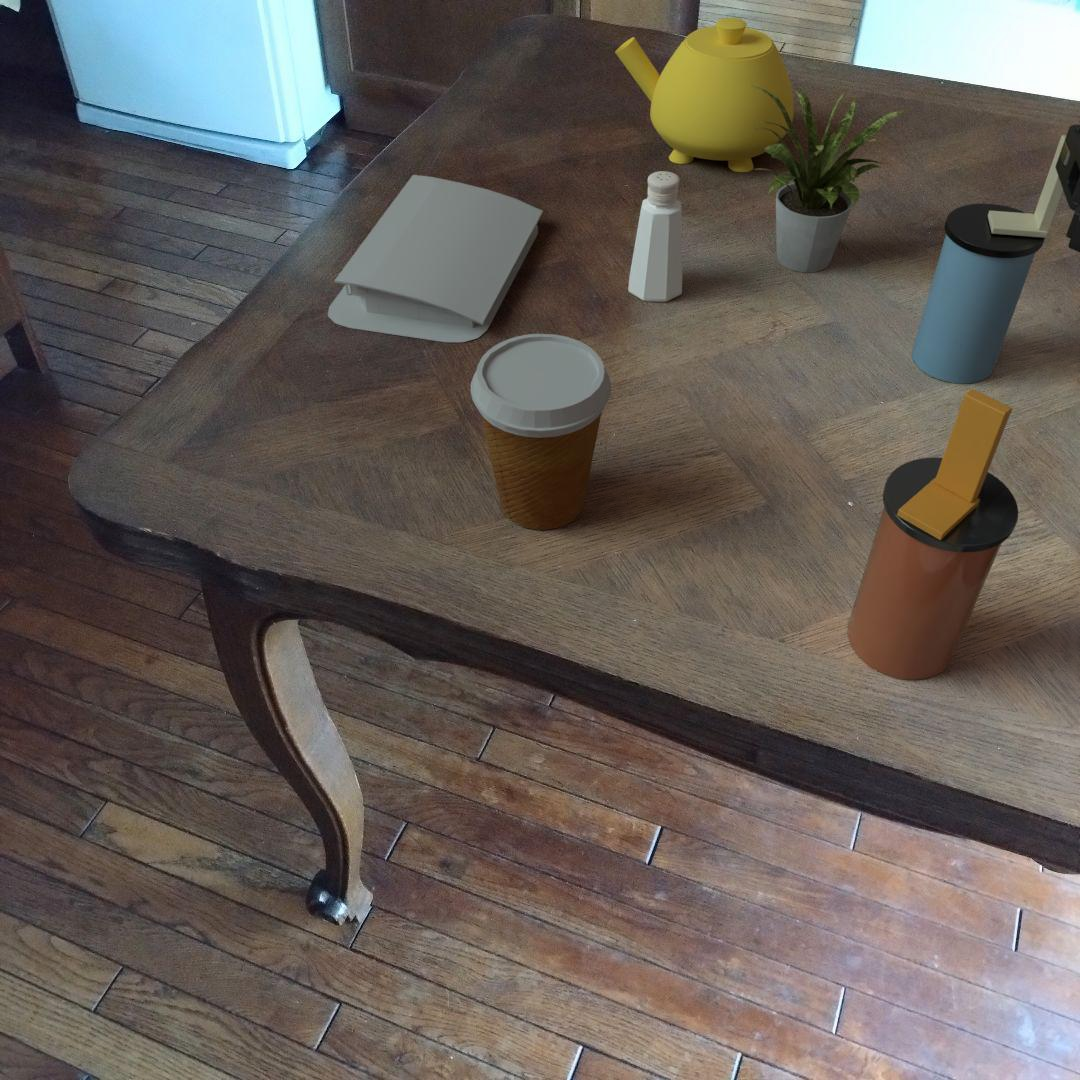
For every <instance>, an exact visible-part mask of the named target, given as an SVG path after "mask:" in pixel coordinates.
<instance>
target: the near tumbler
mask: <svg viewBox="0 0 1080 1080" xmlns="http://www.w3.org/2000/svg"><path fill="white" fill-rule="evenodd" d="M942 459H943V457H936V456H935V457H934V456H933V457H922V458H917V459H913V460H910V461H907V462H905V463H903V464H901V465H899V466H898V467H897V468H895V469H894V470H893V471H892V472H891V473H890V474H889V476H888V477H887V479H886V482H885V484H884V487H883V491H882V502H883V509H882V512H881V515H880V518H879V522H878V525H877V528H876V531H875V535H874V538H873V541H872V544H871V548H870V551H869V554H868V557H867V560H866V564H865V567H864V571H863V574H862V578H861V581H860V584H859V587H858V591H857V594H856V596H855V597H856V598H855V600H854V602H853V606H852V610H851V613H850V616H849V620H848V624H847V638H848V641H849V644H850V646H851V647H852V650H853V651H854V653H855V654H856V655H857V656H858V658H859V659H860V660H861V661H863V662H864V664H866V665H867V666H869V667H870V668H871V669H873V670H875V671H877V672H879V673H880V674H883V675H886V676H888V677H892V678H896V679H898V680H899V679H901V680H909V681H914V680H915V681H916V680H918V681H919V680H925V679H928V678H931V677H934V676H937V675H938V674H940V673H941V672H943V671H944V670H946V669H947V667H948V666H949V664H950V663H951V662H952V659H953V658H954V655H955V652H956V650H957V648H958V646H959V643H960V641H961V639H962V637H963V635H964V632H965V630H966V628H967V625H968V623H969V620H970V618H971V616H972V613H973V611H974V609H975V606H976V604H977V602H978V599H979V597H980V594H981V592H982V590H983V589H984V588H983V587H984V586H985V583H986V581H987V578H988V577H989V574H990V571H991V569H992V567H993V564H994V563H995V560H996V558H997V555H998V553H999V551H1000V548H1001V546H1002V544H1003V543H1004V542H1005V541H1006V540H1007V539H1009V537H1010V536H1011V535H1012V534H1013V532H1014V530H1015V528H1016V525H1017V523H1018V520H1019V507H1018V503H1017V500H1016V498H1015V496H1014V494H1013V493H1012V491H1011V490H1010V489H1009V488H1008V486H1007V485H1006V484H1005V483H1004V482H1003V481H1002V480H1001V479H999V478H998V477H997V476H995V475H994V474H992V472H990V471H988V472H987V475H986V477H985V480H984V483H983V485H982V488H981V490H980V493H979V495H978V497H977V498H978V499H980V502H979V504H978V506H977V507H976V508H975V509H974V510H973V511H972V512H970V513H969V514H968V515H967V516H966V517H965V518H964V519H963V520H962V521H961V522H960V523H959V524H958V525H956V526H955V527H954V528H953V529H952V530H951V531H950V532H949V533H948V534H947V535H946V536H945V537H944V538H942V539H941V540H939V539H937V538H936V537H934V536H932V535H930V534H929V533H927V532H925V531H923V530H922V529H920V528H918V527H916V526H915V525H913V524H911V523H909V522H908V521H906V520H904V519H902V518H901V517H899V516H897V514H898V511H899V509H900V508H901V507H902V506H903V505H905V504H906V503H907V502H908V501H909V500H910V499H911V498H913V497H914V496H915V495H916V494H917V493H918V492H919V491H921V490H922V489H923V488H924V487H925V486H926V485H928V484H929V483H930V482H931V481H932V480H933V479H934V478H936V476H937V473H938V470H939V467H940V465H941V462H942Z"/></svg>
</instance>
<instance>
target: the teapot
mask: <svg viewBox="0 0 1080 1080" xmlns="http://www.w3.org/2000/svg"><path fill="white" fill-rule="evenodd" d="M747 24H748V23H747V21H745V20H743V19H740V18H738V17H724V18H720V19H718V20H716V22H715V25H712V26H705V27H701V28H698V29H696V30H694V31H692V32H691V33H689V34H688V35H687V36H686V37H685V38H684V39H683V41H682V42H681V43H680V44H679V45H678V47H677V49H676V50H675V51H674V52H673V54H672V55H671V56H670V58H669V60H668V61H667V62H666V64H665V66H664V68H663V70H662V71H661V73H659V72H658V70H657V69H656V67H655V66H654V65H653V63H652V61H651V60H650V58H649V57H648V56H647V54H646V53H645V51H644V49H643V48H642V46H641V45H640V44H639V42H638V41H637V39H636V38H635V37H634V36H633V37H630V38H629V39H628V40H626V41H625V42H623V43H622V44H621V45H620V46H618V48H617V49H616V50H615V52H614V54H615V55H616V56H617V58H619V60H620V61H621V63H622V64H623V66H624V67H625V68H626V70H627V71H628V73H629V74H630V76H631V77H632V78H633V79H634V81H635V82H636V84H637V85H638V86H639V88H640V89H641V90H642V92H643V93H644V94H645V96H646V97H647V99H648V100H649V101H650V112H649V117H650V120H651V123H652V126H653V127H654V129H655V130H656V131H655V132H657V134H658V135H659V136H660V137H661V139H662V140H663V141H664V142H665V143H666V145H668V146H669V147H670V148H672V149H673V150H672V152H671V153H670V155H669V156H668V159H669V161H670V162H671V163H674V164H679V165H683V164H685V165H686V164H689V163H692V162H693V161H694V159H695V158H697V159H702V160H711V161H727V165H728V166H727V167H728V168H729V169H730V170H731V171H733V172H736V173H749V172H751V171H752V169H754V163H753V160H752V158H755V157H758V156H760V155H762V154H764V153H766V152H765V148H766V147H768V146H770V145H772V144H776V143H778V144H779V142H781V141H780V140H779V138H778V137H777V136H776V135H775V134H774V133H773V132H772V131H774V132H776V133H777V134H778V135H779V136H780V137H781V138H782V139H783V138H784V137H785V136H786V135H787V133H786V132H785V130H784V129H783V128H781V127H780V126H778V125H781V126H783V127H785V128H787V129H788V130H789V131H790V129H789V127H788V125H787V123H786V121H785V118H784V116H783V114H782V112H781V109H780V108H779V106H778V105H777V104H776V102H775V101H774V100H773V99H772V98H771V97H770V96H769V95H768V94H766V93H765V92H763V91H762V90H760V89H758V88H756V87H759V88H762V89H764V90H766V91H768V92H770V93H772V94H773V95H774V96H776V97H777V98H778V99H779V100H780V101H781V103H782V104H783V106H784V107H785V109H786V111H787V113H788V115H789V118H790V120H791V122H792V123H793V120H794V113H795V112H794V111H795V110H794V106H795V105H794V95H793V87H792V82H791V78H790V76H789V73H788V70H787V67H786V65H785V62H784V61H783V58H782V56H781V54H780V52H779V50H778V48H777V46H776V44H775V43H774V41H773V39H772V38H771V37H770V36H769V35H768V34H766V33H765V32H762V31H760V30H757V29H754V28H751V27H747ZM751 85H752V86H751ZM753 86H756V87H753ZM758 122H772V123H775V124H778V125H775V124H767V123H762V124H754V123H758ZM754 128H767V129H770V130H772V131H770V130H767V129H754Z"/></svg>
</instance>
